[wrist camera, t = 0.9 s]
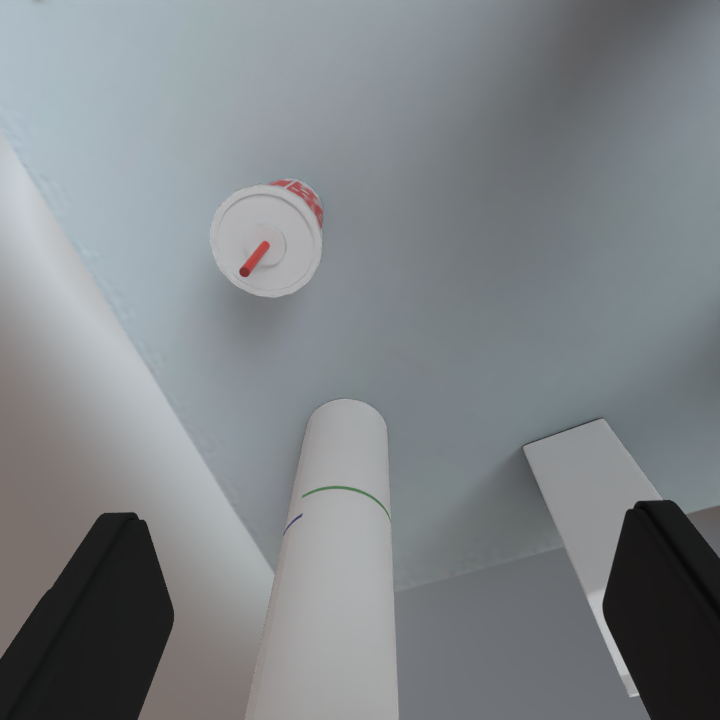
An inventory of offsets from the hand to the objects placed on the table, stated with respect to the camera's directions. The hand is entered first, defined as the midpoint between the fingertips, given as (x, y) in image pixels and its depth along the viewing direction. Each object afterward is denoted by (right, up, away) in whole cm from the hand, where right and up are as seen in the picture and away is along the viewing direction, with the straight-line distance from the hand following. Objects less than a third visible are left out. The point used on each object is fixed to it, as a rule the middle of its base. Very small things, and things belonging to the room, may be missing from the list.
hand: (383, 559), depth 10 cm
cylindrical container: (-2, -2, +34) cm, 34 cm away
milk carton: (+18, -5, +34) cm, 39 cm away
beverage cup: (-5, +14, +25) cm, 29 cm away
